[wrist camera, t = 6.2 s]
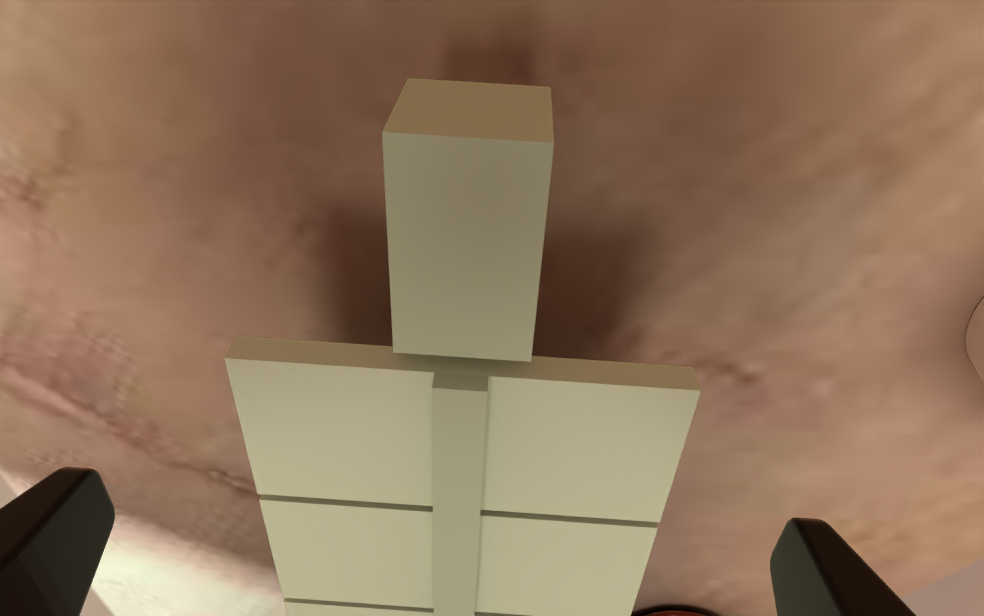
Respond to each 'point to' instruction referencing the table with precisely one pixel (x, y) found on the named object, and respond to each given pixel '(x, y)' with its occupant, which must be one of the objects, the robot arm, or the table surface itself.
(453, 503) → the lid
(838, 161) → the table surface
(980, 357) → the dixie cup
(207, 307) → the table surface
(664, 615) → the supplement bottle
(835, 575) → the robot arm
